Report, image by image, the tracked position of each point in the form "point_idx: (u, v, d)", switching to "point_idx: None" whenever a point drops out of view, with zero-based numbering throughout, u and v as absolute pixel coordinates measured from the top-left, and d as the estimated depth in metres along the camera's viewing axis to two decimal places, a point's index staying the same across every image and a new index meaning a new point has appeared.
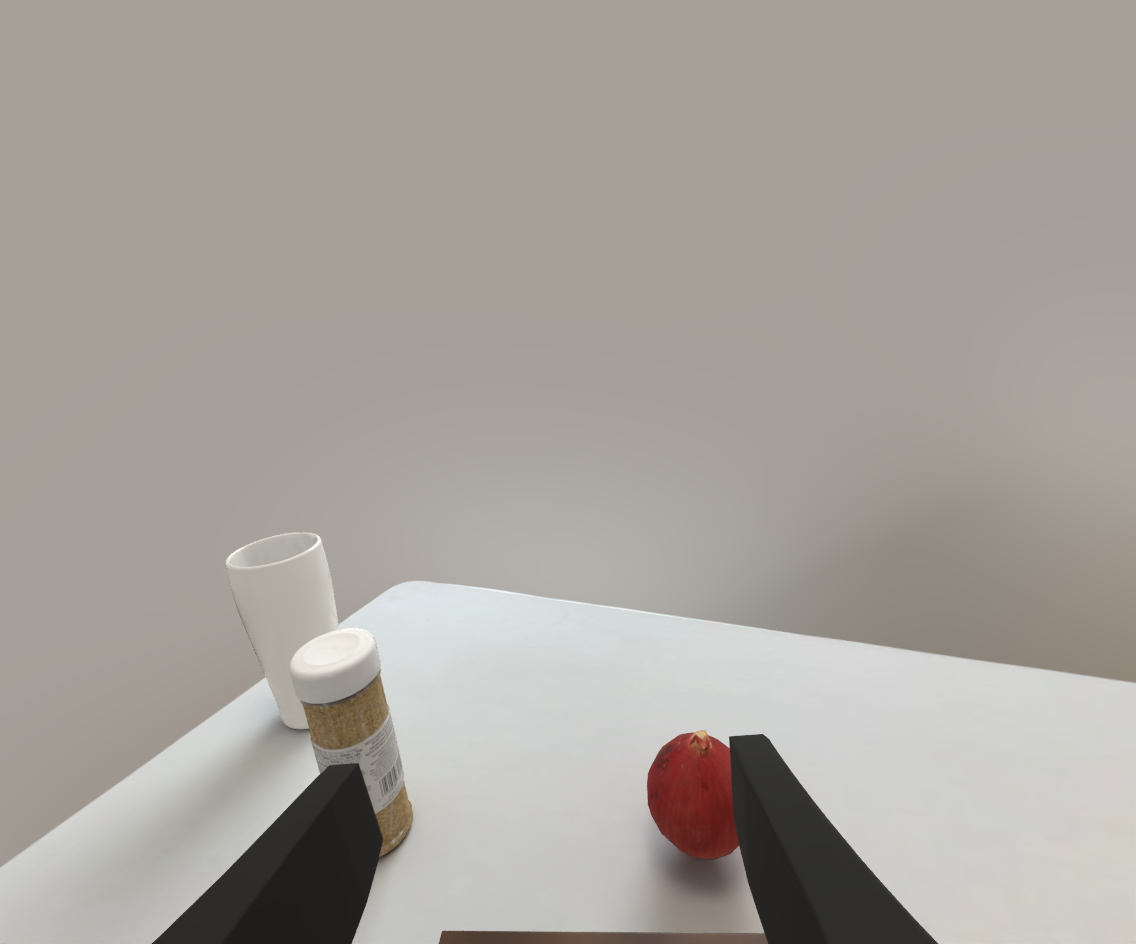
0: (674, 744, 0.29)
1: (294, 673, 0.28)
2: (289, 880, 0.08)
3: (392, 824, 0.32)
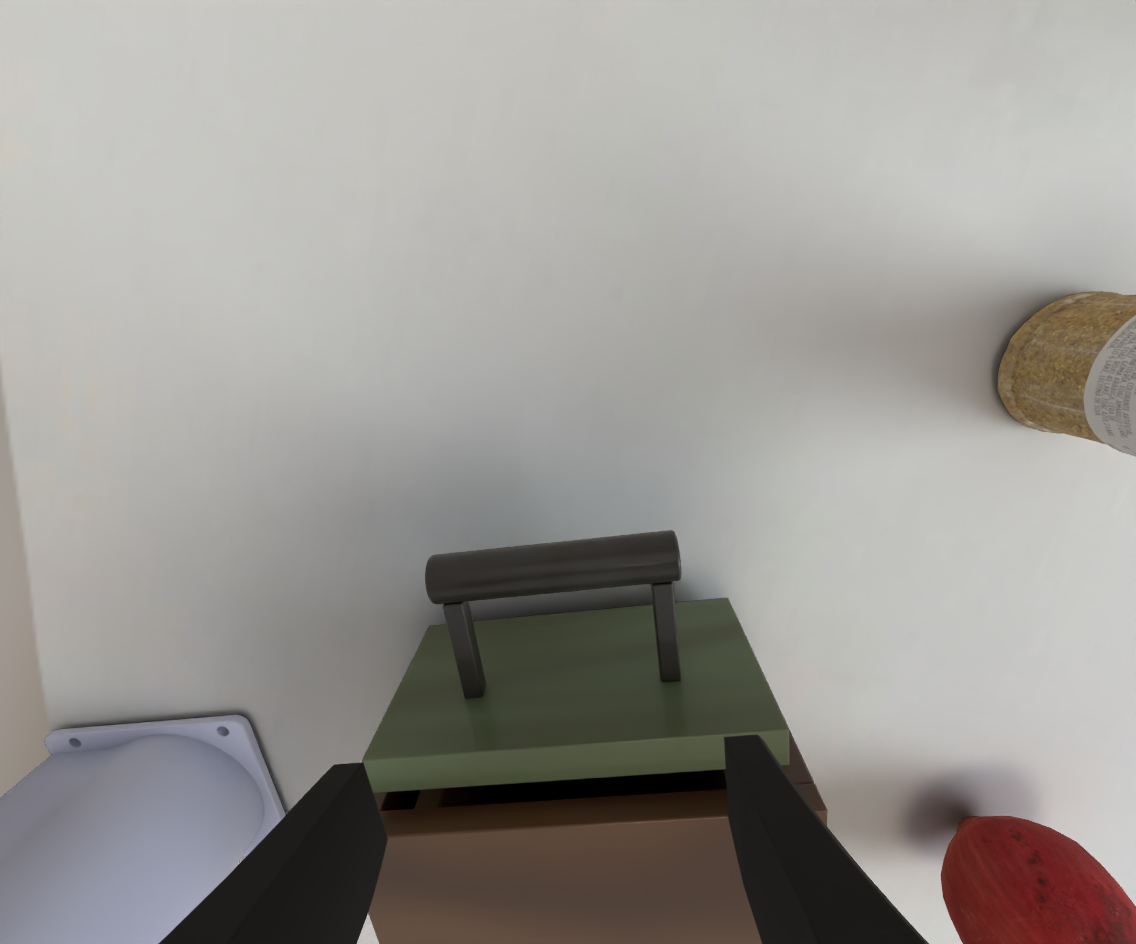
0: None
1: None
2: (295, 880, 0.08)
3: (1064, 431, 0.16)
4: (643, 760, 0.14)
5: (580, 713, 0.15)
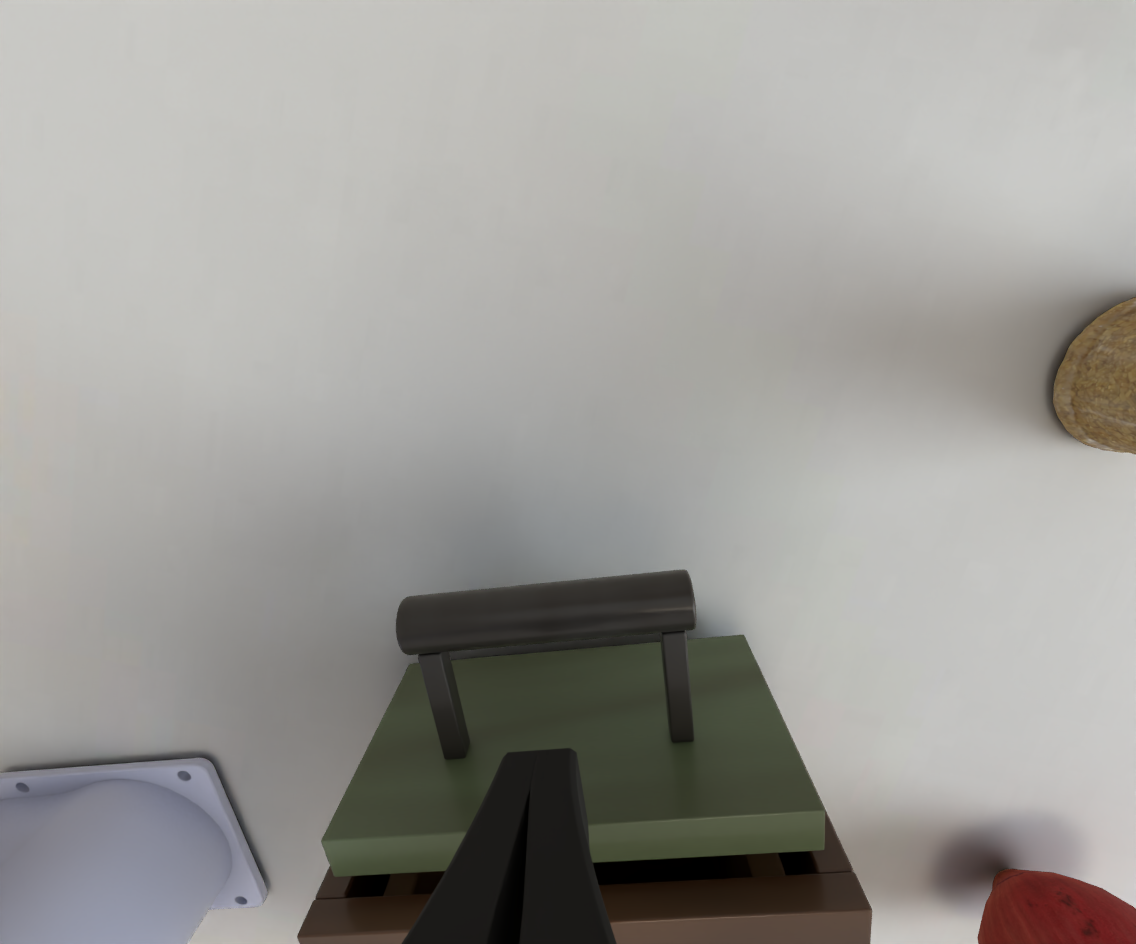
0: None
1: None
2: (516, 868, 0.08)
3: (1135, 451, 0.14)
4: (652, 843, 0.12)
5: None
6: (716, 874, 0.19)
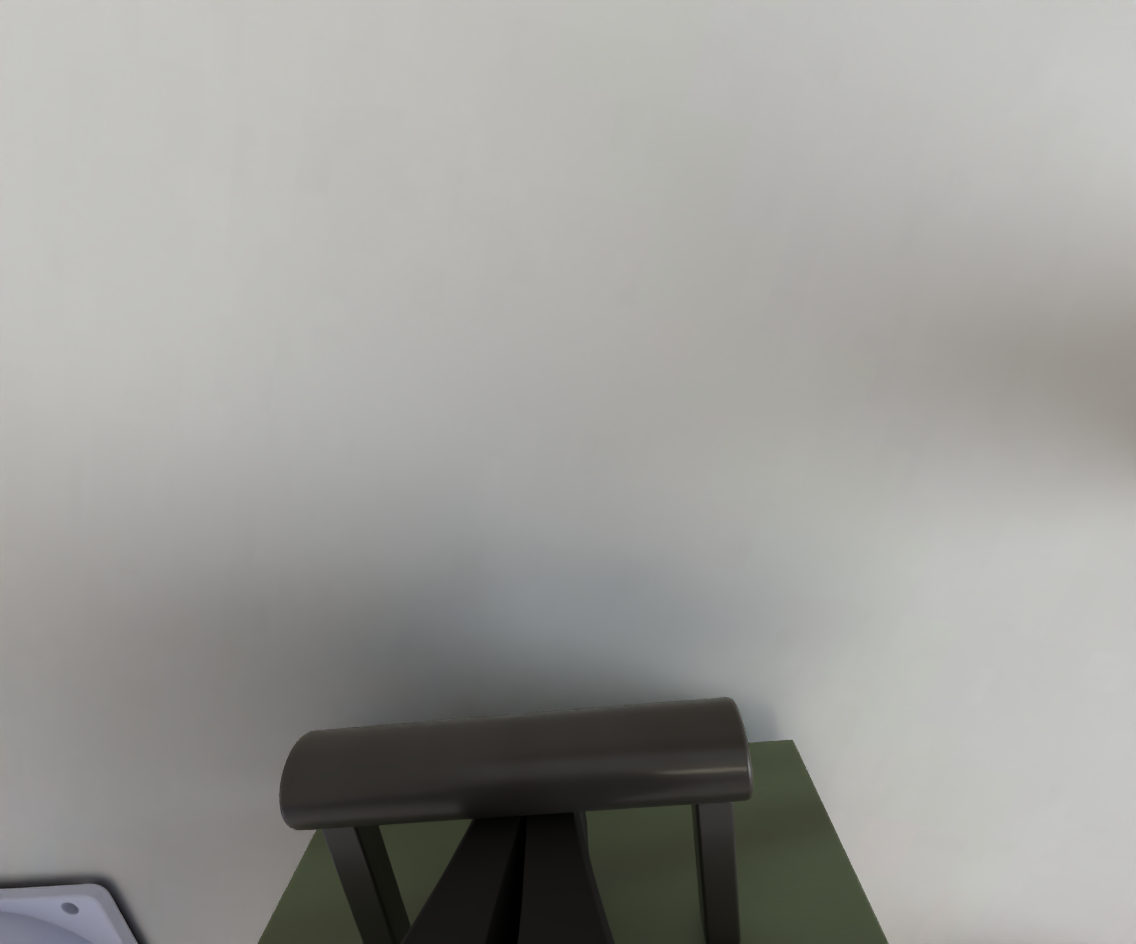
0: None
1: None
2: (514, 868, 0.08)
3: None
4: None
5: None
6: None
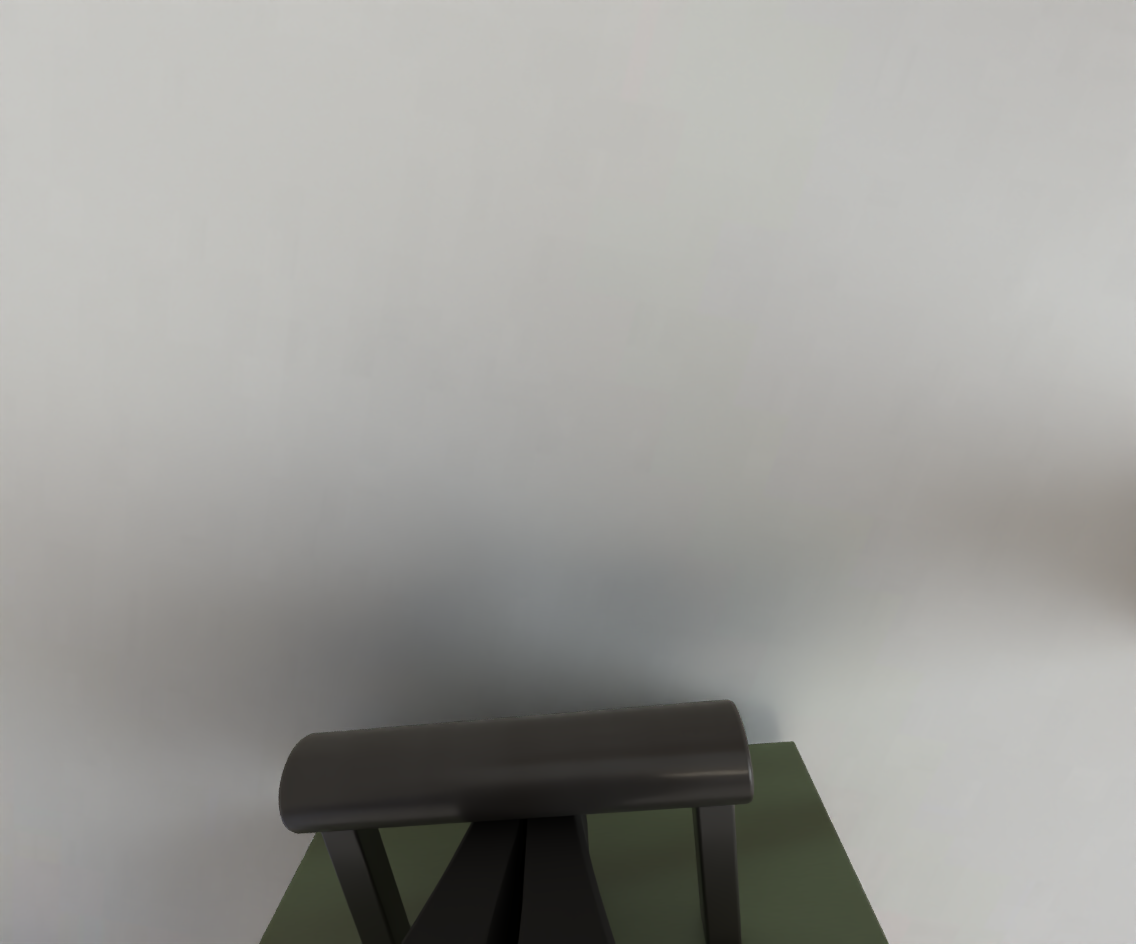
0: None
1: None
2: (515, 868, 0.08)
3: None
4: None
5: None
6: None
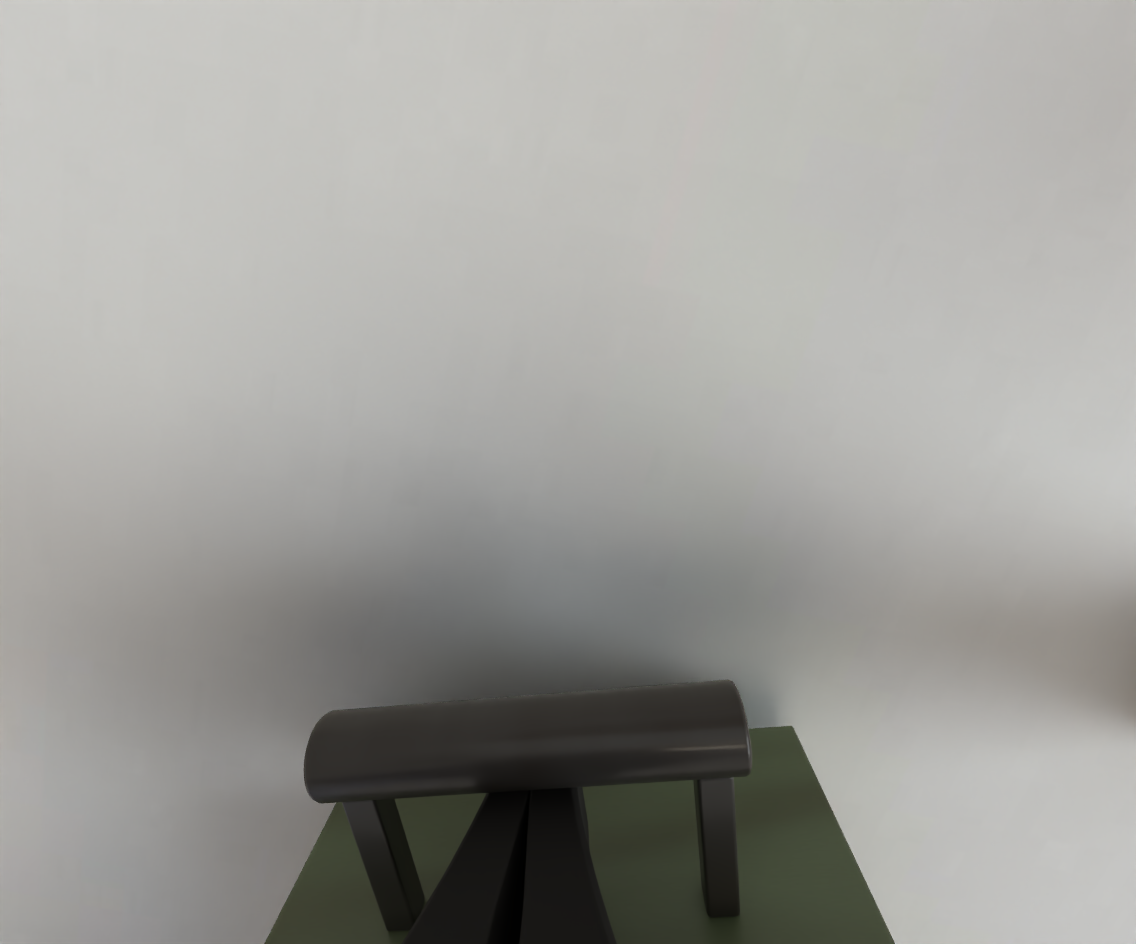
0: None
1: None
2: (516, 868, 0.08)
3: None
4: None
5: None
6: None
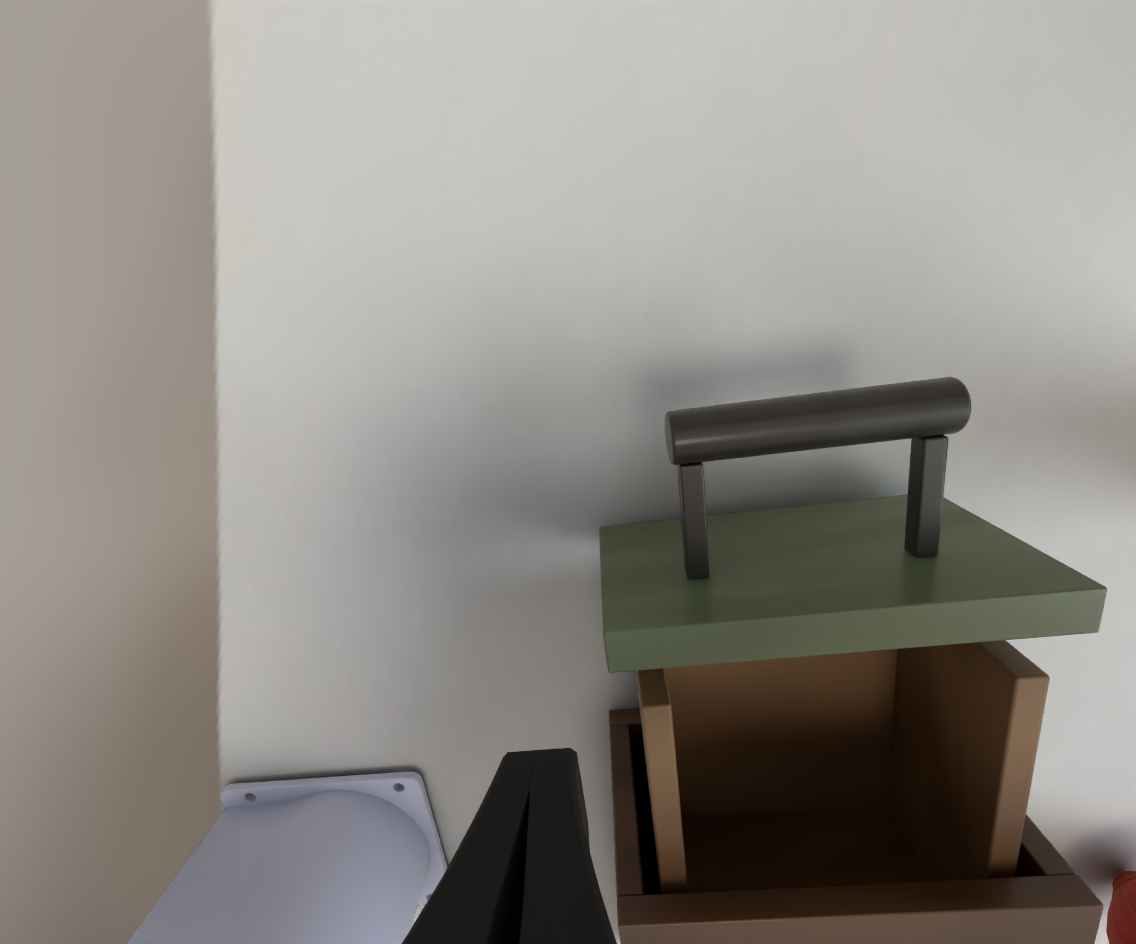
0: None
1: None
2: (516, 868, 0.08)
3: None
4: (930, 628, 0.12)
5: (837, 585, 0.13)
6: (888, 739, 0.20)
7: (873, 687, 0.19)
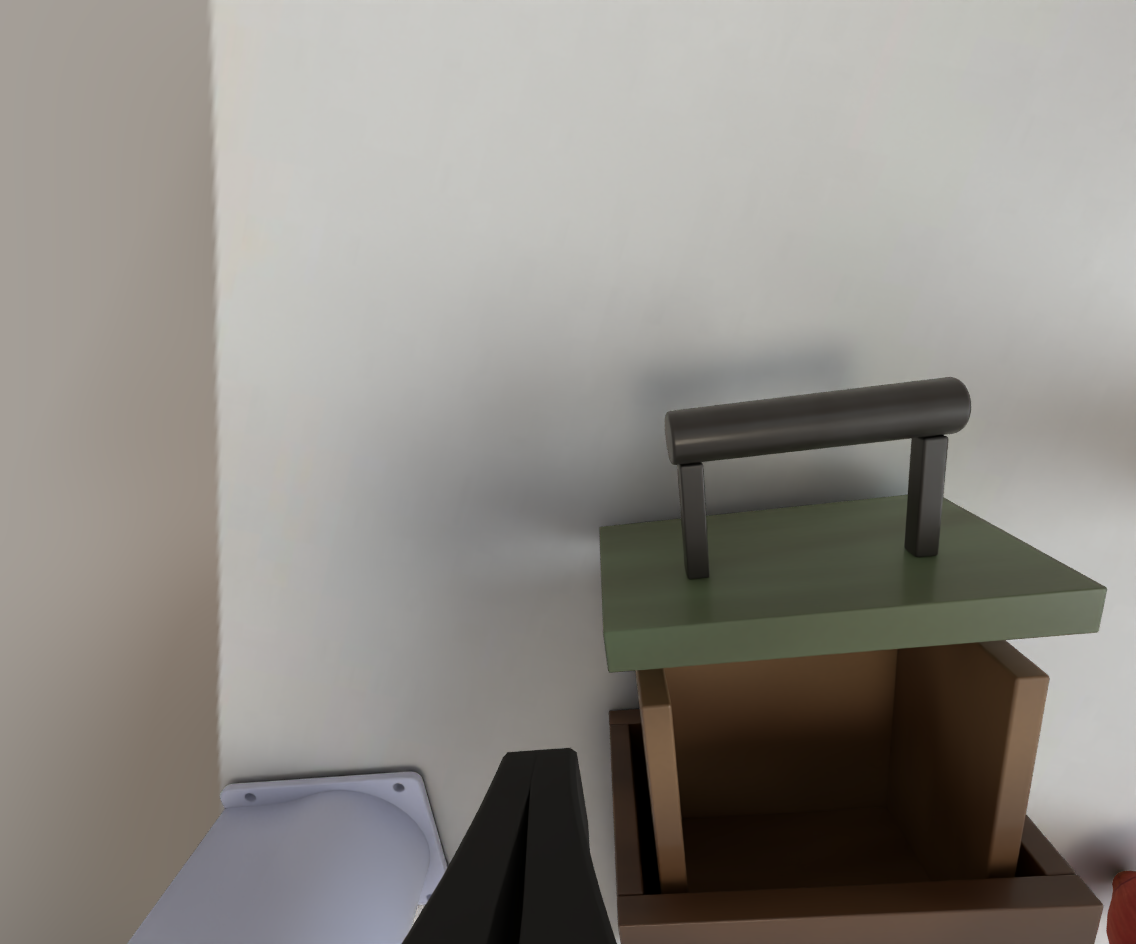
0: None
1: None
2: (516, 868, 0.08)
3: None
4: (930, 628, 0.12)
5: (837, 585, 0.13)
6: (888, 739, 0.20)
7: (873, 687, 0.19)
